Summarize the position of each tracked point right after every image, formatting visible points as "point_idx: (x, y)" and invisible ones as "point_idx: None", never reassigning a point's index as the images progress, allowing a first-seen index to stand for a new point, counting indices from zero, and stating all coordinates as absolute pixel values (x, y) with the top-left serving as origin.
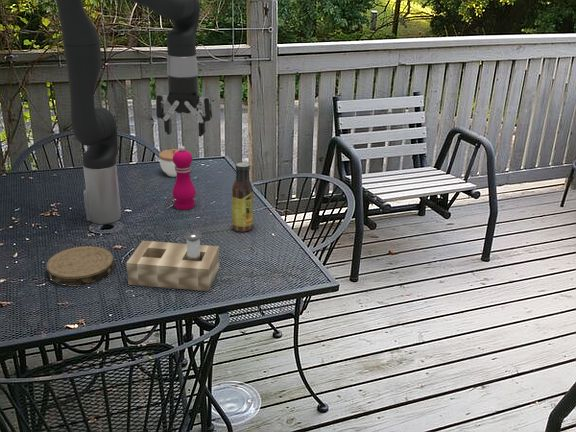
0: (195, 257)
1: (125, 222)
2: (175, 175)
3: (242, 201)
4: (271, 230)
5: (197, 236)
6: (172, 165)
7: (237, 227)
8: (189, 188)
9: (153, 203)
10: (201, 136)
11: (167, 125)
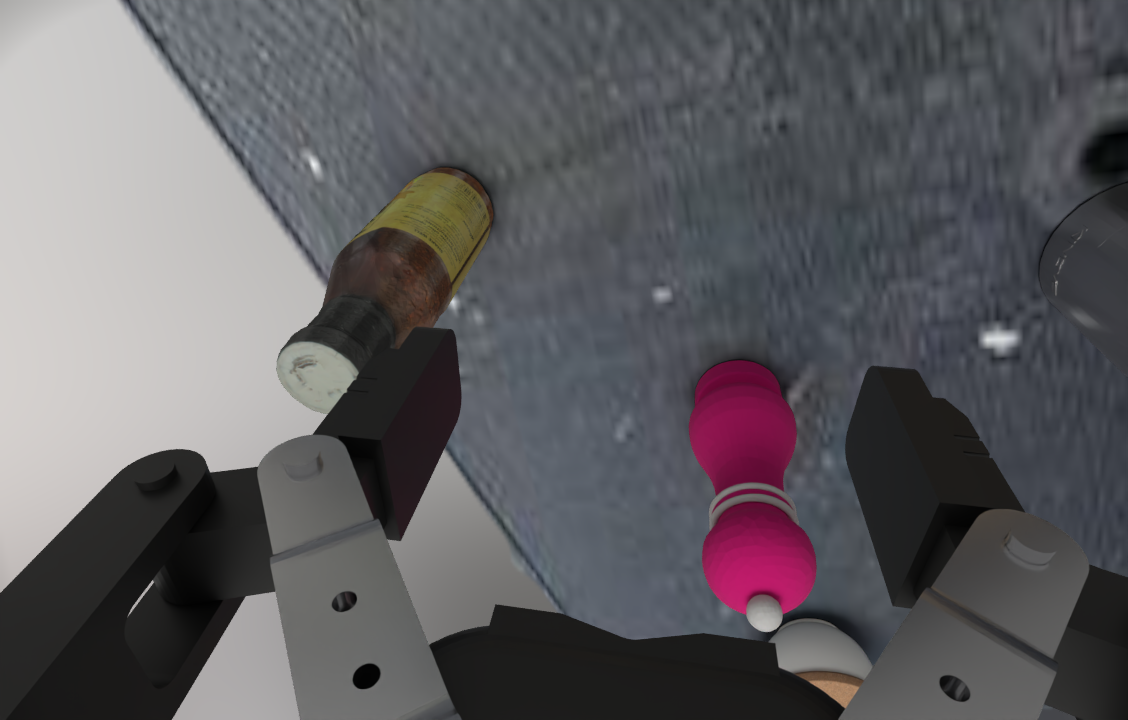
0: None
1: (1014, 213)
2: (805, 621)
3: (384, 221)
4: (332, 201)
5: None
6: (822, 653)
7: (456, 175)
8: (712, 429)
9: None
10: (421, 332)
11: (942, 451)
